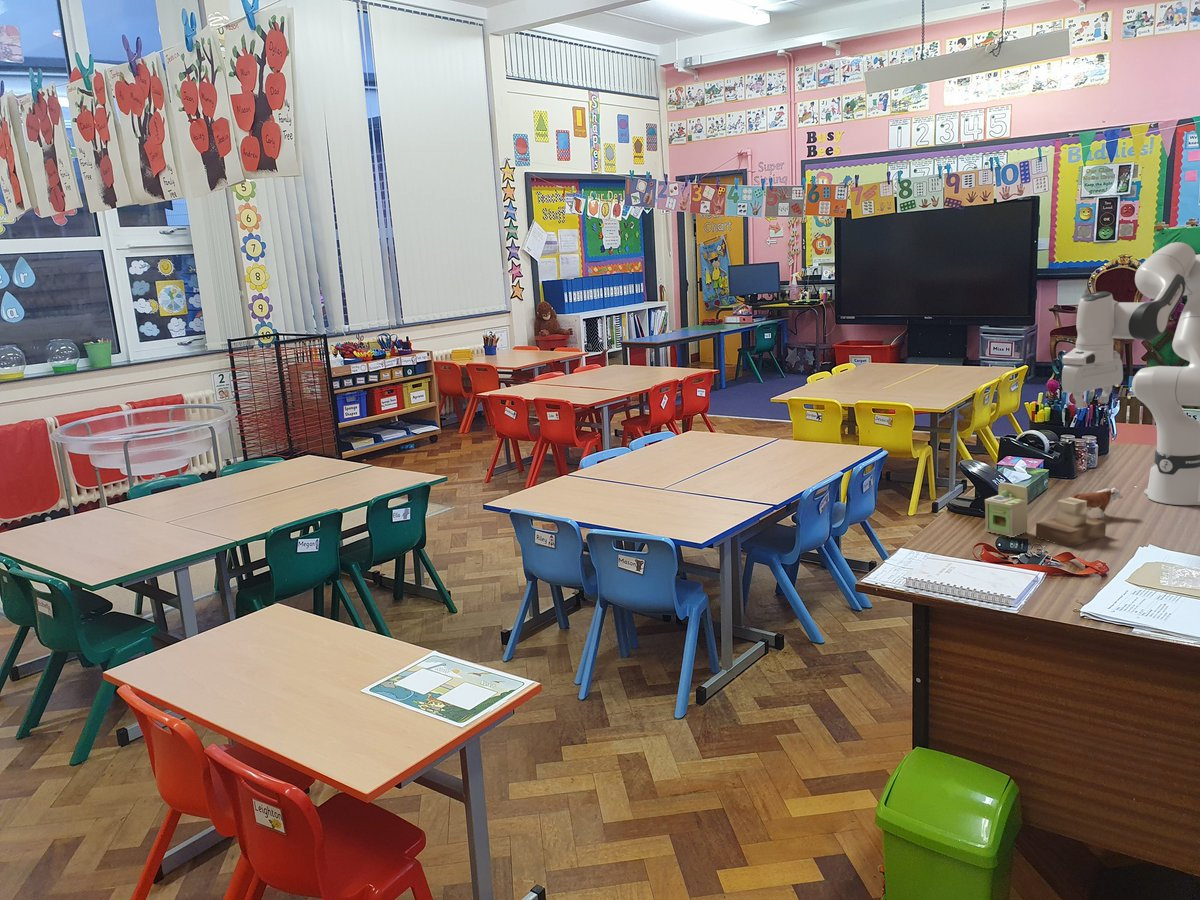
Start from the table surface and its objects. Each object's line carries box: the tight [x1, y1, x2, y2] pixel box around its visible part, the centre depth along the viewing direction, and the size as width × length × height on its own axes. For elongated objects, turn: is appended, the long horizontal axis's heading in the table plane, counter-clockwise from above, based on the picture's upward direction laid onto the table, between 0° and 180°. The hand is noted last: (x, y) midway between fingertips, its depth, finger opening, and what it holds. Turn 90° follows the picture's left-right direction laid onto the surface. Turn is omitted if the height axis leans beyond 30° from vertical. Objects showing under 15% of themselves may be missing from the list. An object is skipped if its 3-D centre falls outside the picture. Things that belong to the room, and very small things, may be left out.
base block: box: [1035, 516, 1107, 548], centre depth 237 cm, size 14×10×4 cm
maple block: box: [1055, 496, 1088, 527], centre depth 236 cm, size 5×5×6 cm
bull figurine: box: [1072, 487, 1124, 518], centre depth 251 cm, size 4×13×8 cm, turn 89°
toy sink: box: [984, 481, 1028, 536], centre depth 244 cm, size 8×7×13 cm
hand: (1092, 405), depth 241 cm, fingers open, 8 cm apart
